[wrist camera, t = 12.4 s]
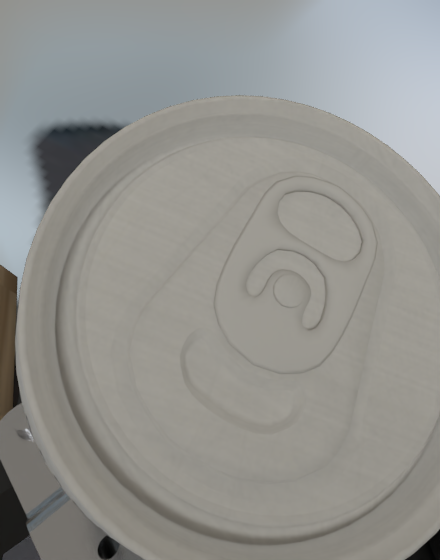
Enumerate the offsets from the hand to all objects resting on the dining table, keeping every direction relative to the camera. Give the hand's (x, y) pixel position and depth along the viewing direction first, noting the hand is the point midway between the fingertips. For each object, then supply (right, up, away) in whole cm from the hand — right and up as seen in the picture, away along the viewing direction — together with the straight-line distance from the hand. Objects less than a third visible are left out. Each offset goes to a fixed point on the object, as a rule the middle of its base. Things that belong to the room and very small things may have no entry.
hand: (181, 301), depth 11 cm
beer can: (-1, -4, +7) cm, 8 cm away
